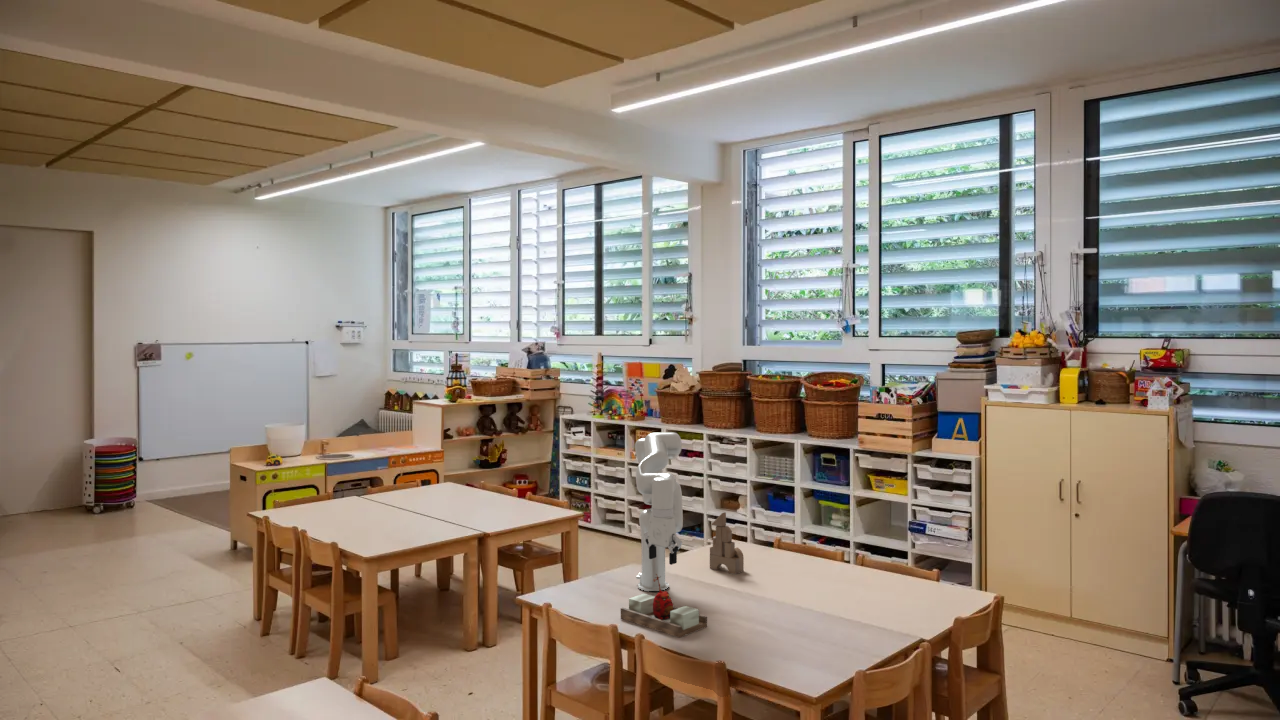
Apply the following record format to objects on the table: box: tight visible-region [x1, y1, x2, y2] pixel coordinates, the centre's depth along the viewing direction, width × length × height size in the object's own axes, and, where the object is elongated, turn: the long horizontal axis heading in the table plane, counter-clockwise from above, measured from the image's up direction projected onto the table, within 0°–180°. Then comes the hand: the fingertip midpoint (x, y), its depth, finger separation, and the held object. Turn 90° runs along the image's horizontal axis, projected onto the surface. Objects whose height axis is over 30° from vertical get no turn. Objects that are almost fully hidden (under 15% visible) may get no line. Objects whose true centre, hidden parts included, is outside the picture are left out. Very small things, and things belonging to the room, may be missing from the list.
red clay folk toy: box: [653, 574, 674, 620], centre depth 285 cm, size 8×7×15 cm
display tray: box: [620, 593, 708, 638], centre depth 285 cm, size 28×14×6 cm, turn 46°
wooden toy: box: [709, 512, 745, 575], centre depth 350 cm, size 15×7×25 cm, turn 48°
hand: (662, 561), depth 285 cm, fingers open, 9 cm apart
